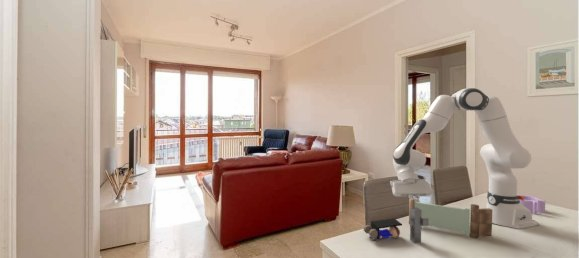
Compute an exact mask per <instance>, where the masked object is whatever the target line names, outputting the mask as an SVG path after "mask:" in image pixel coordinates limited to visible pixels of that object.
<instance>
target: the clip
mask: <svg viewBox="0 0 579 258" xmlns="http://www.w3.org/2000/svg"><path fill="white" fill-rule="evenodd" d="M517 195H518V196H519V195H520V196H524V197H525V198H524V200H521V199H519V200H520V203H521V204H522V205H523V206H525V207H526V208H527V209H529V210H530V211H531V213H532V215H534V214H535V215H534V216H537V215H538V212H539V214H544V213H545V214H546V200H543V199H541V198H538V197H535V196H531V195H525V194H518V193H517Z"/></svg>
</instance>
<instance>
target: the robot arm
mask: <svg viewBox="0 0 579 258" xmlns="http://www.w3.org/2000/svg"><path fill="white" fill-rule="evenodd" d="M457 110H458V111H459V110H460V111H474V112H475V113H476V115H477V118H478V122H479V124H480V128H481V131H482V135H483V137H484V138H485V139H487V140H488V142H490V143H486V144H484V145H483V146H481V148H480V151H479V155H480V157H481V159H482V160H483V161H484V164H485V168H486V170H487V176H488V191H487V193H486V198H487V201H486V205H485V206H486V207H485V208H490V209H492V224H495V225H499V226H503V227H509V228H514V229H519V230H522V229H527V228H531V227H536V226H540V225H539V222H538V221H536V220H534V219H533V214H532V213H531V211H530V210H529V209H527V208H526V207H525V206H523V205H522V204H521V203H520V200H519V199H521V200H524V198H525V197H524V196H520V195H521V194H519V196H518V195H517V194H518V179H517V177H516V176H515V175H514V173H513V171H512V169H524V168H526V167H529V165H530V164H531V162H532V154H531V153H530V151H529V150H528V149H526V148H525V147H524V146H523V145H522V144H521V143H520V141H519V140H518V139H517V137H516V135H515V134H514V133H513V130H512V128H511V126H510V123H509V120H508V117H507V112H506V110H505V108H504V106H503V104H502V102H501V100H500V99H499V98H498V97H497V96H495V95H488V96H487V94H485V93H484V92H483V91H482V90H480V89H478V88H474V87H470V88H463V89H459V90H457V91H455V92H454V93H451V94H450V95H448V94H440V95H438V96H436V97H435V99H434V100H433V101H432V103H431V104H430V106H429V107H428V110H427V111H426V113H425V115H424V116H423V117H422V118H421V119H419V120H417V121H416V122H415V123H414V124H413V126H412V127H411V128H410V129H409V131H407V134H406V135H405V137H404V138H403V140H402V141H401V142H400V143H399V144H398V146H396V147H395V149H394V150H393V153H392V165H393V168H394V171H395V172H396V175H397V176H396V177H397V178H398V179H392V180H390V182H389V184H390V187H391V191H392V195H393V196H394V197H398V198H399V197H401V198H402V197H408V199H414V200H415V202H420V203H421V200H420V197H430V196H431V195H432V194H433V190H432V187H431V185H430V183H429V182H428V181H427V178H426V176H424V175H421V174H417V173H415V172H416V171H418V170H420V169H422V168H423V167H425V165H426V163H427V157H426V154H425V153H424V152H421V151H419V150H417V149H413V147H414V146H415V144H416V143H417V141H418V140H419V139H420V137H421V136H423V135H424V134H428V133H438V132H440V131H442V130H443V129H445V127H447V125H448V124H449V122H450V119H451V117H452V115H454V114H455V112H456V111H457Z"/></svg>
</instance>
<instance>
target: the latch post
mask: <svg viewBox="0 0 579 258" xmlns="http://www.w3.org/2000/svg"><path fill="white" fill-rule="evenodd" d="M421 215H422V210H421V209H419V208H417V207H415V208H411V213H410V224H409V225H410V227H409V230H410V231H409V232H410V233H409V241H410V242H412V243H413V244H421V243H422V227H428V226H429V225H428V220H429V219H428V218H421Z"/></svg>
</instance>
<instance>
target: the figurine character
mask: <svg viewBox="0 0 579 258" xmlns="http://www.w3.org/2000/svg"><path fill="white" fill-rule="evenodd" d="M400 226H403V224H402V222H400V221H398V220H397V219H395V217H394V218H387V219H379V220H373V221H372V220H371V221H370V225H369V224H366V225H365V226H364V227H363V232H364V233H365V234H368V236H369V239H372V241H373V242H375V241H376V242H377V241H379V240H380V239H389V238H390V237H391V238H393V239H396V238H399V236H400V235H401V231H400V229H399V227H400ZM375 238H376V239H375Z"/></svg>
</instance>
